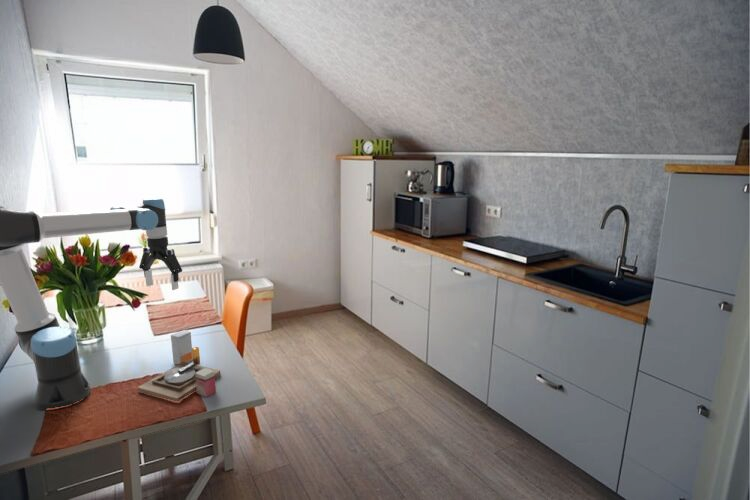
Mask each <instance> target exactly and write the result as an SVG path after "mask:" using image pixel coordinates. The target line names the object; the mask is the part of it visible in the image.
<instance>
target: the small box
mask: <svg viewBox="0 0 750 500" xmlns="http://www.w3.org/2000/svg"><path fill="white" fill-rule="evenodd" d="M207 368H208V367H207ZM207 368H204V369H201V370H199V371H198V372H196V373H195V377H196V389H197V392H198V393H199V394H198V393H197V392H196V393H197V394H198V395H200V394H201V395H200V396H202V395H203V396H202V397H204V396H206V397H205V398H208V397H209V396H211V395H213V394H215V393H216V392H217V389H216V387H217V386H216V379H215V372H214V371H212V370H210V369H207ZM214 392H215V393H214Z"/></svg>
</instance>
